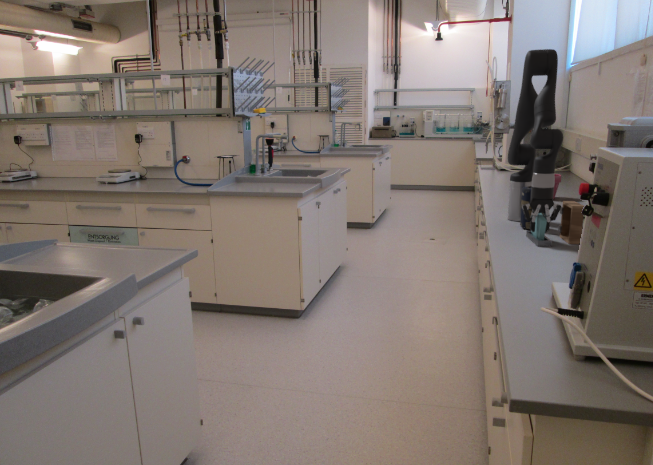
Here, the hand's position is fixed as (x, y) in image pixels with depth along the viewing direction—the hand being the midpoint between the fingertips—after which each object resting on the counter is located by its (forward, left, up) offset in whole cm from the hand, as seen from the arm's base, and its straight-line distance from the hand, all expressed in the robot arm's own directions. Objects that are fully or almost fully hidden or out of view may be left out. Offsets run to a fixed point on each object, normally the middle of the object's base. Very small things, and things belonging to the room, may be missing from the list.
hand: (539, 231), depth 181 cm
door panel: (-2, 0, -3) cm, 3 cm away
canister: (-21, +4, -4) cm, 22 cm away
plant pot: (-93, +31, -4) cm, 98 cm away
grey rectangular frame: (0, 0, -4) cm, 4 cm away
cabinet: (-1, +12, -4) cm, 12 cm away
